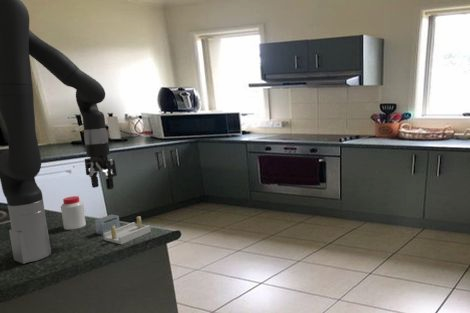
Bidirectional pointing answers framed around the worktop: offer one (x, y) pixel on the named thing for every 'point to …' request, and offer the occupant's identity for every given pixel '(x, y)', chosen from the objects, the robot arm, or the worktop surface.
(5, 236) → the worktop surface
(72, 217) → the pill bottle
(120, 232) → the white peg stand
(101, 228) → the block
